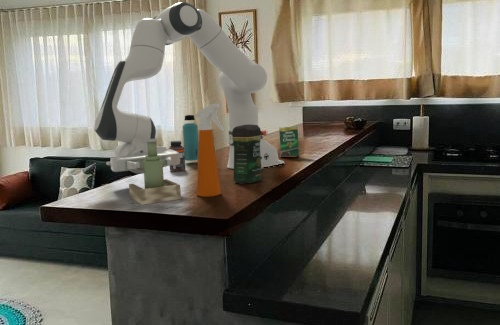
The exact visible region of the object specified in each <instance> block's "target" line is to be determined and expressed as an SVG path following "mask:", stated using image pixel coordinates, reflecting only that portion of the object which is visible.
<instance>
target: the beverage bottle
mask: <svg viewBox="0 0 500 325" xmlns="http://www.w3.org/2000/svg"><path fill="white" fill-rule="evenodd" d="M184 121H195V115H194V114H186V115H184ZM198 127H199V124H197V123H195V122H186V123H184V124H183V125H182V136H183V147H184V152H185V161H190V162H191V161H198V148H199V128H198Z"/></svg>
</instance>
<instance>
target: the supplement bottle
mask: <svg viewBox="0 0 500 325" xmlns="http://www.w3.org/2000/svg"><path fill="white" fill-rule="evenodd" d="M168 149H171V150H174V151H177V152H179V154H180V164H179V165H171V166H169V171H171V172H173V173H175V172H176V173H179V172H184V171H185V170H186V160H185V152H184V145H182V140H172V141H170V147H169V148H168Z"/></svg>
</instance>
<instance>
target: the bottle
mask: <svg viewBox="0 0 500 325" xmlns="http://www.w3.org/2000/svg"><path fill="white" fill-rule="evenodd" d="M146 142H147V149H148V156H145V158H146V160H143V167H144V173H143V177H144V178H143V180H144V189H148V188H155V187H162V186H164V180H165V179H164V167H163V160H162V159H160V155H157V146H158V144H157V142H158V138H156V137H155V138H153V139H146Z"/></svg>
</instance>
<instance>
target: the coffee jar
mask: <svg viewBox="0 0 500 325" xmlns="http://www.w3.org/2000/svg"><path fill="white" fill-rule="evenodd" d="M260 130H261V127H260V126H259V124H258V125H241V126H237V127H235V128H234V129H233V133H232V136H233V137H232V139H233V144H234V169H233V181H234V183H237V184H240V185H244V184H254V182H255V183H257V182H260V181H262V179H263V172H262V171H263V170H262V169H263V168H261V156H260V139H261V132H260Z"/></svg>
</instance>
